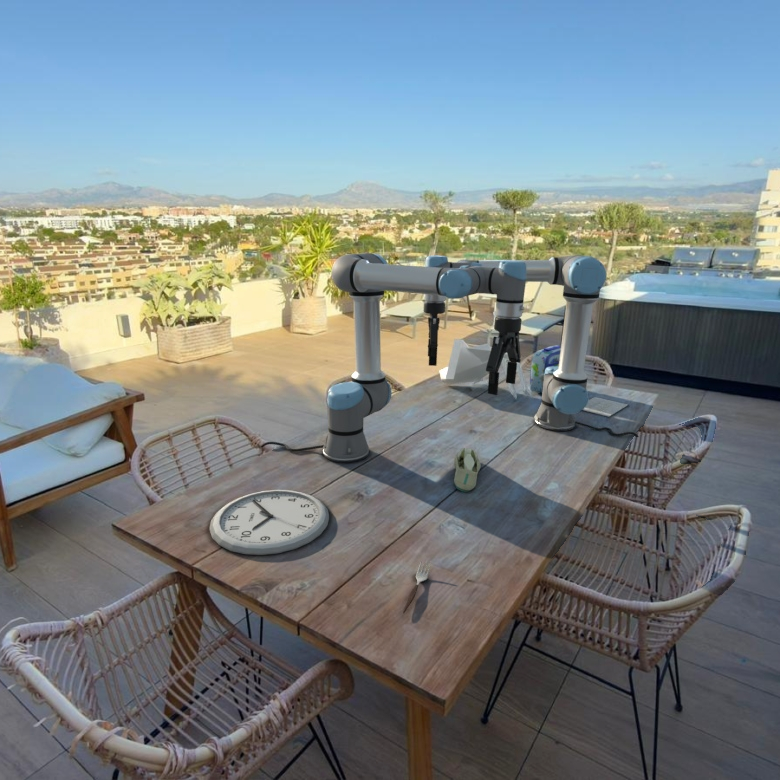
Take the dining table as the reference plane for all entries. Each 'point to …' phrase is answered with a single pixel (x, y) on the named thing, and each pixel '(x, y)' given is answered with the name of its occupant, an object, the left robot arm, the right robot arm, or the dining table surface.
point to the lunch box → (543, 366)
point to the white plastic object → (474, 365)
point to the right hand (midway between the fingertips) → (432, 360)
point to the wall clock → (269, 522)
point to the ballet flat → (466, 469)
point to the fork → (420, 577)
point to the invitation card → (603, 406)
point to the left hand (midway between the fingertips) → (501, 388)
